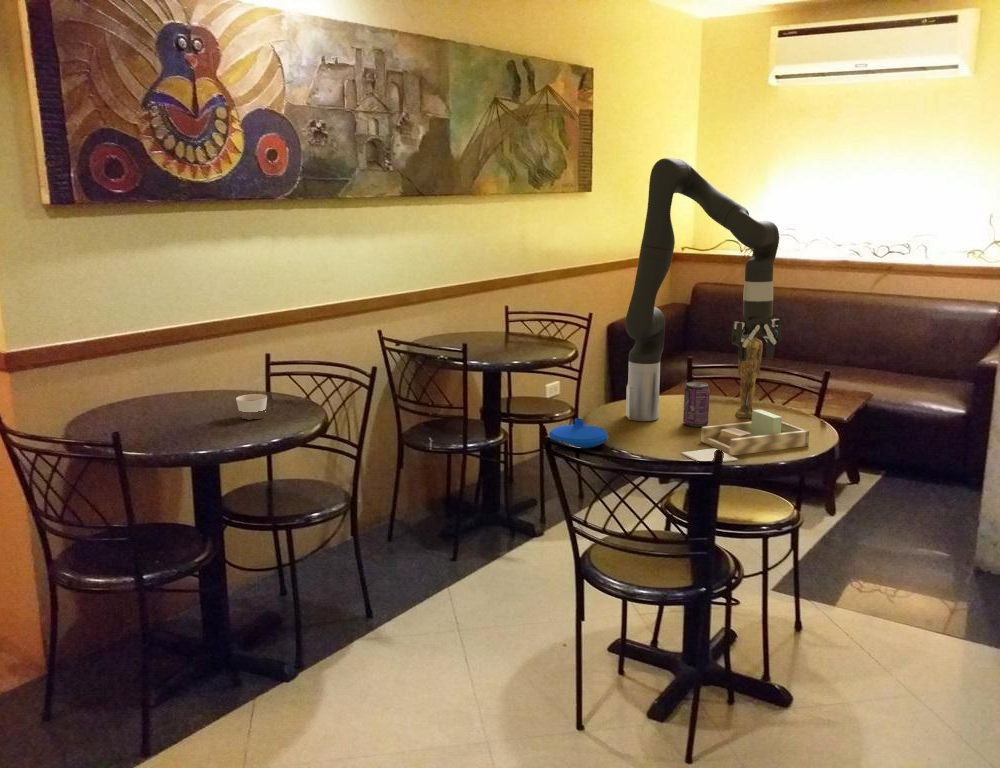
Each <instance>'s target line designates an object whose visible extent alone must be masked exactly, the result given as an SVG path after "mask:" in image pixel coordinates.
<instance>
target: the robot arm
mask: <svg viewBox="0 0 1000 768" xmlns="http://www.w3.org/2000/svg"><path fill="white" fill-rule="evenodd" d="M674 194H680V195H682V196H685V197H688V198H689V199H691V200H693V201H694V202H696V203H697V204H698V205H699V206H700V208H702V209H703V211H704V212H705V213H706V214H707V216H708V217H710V218H711V219H712V220H713V221H715V222H716V223H717V224H719V225H720V226H722V227H723V228H725V230H727V231H729V232H730V233H731V234H732V236H733V237H734V238H736V239H737V241H738V242H739V243H740V244H742V245H744V247H747V248H749V249H752V255H751V257H750V258H749V259H748V260H746V262H745V268H744V285H743V286H744V287H743V293H742V294H743V299H742V302H743V303H742V316H743V320H742V321H741V322H740V321H733V322H732V329H731V341H730V342H731V345H734V346H737V358H739V360H740V361H746V355H747V347H746V346H747V344H748V342H749V341H751V340H752V338H753V337H754V338H759V337H761V338H764V340H765V342H766V344H765V358H766V359H774V357H775V351H776V348H775V347H776V346H775V345H776V344H777V343H780V342H782V341H783V326H782V325H783V324H782V323H783V321H782V320H781V319H779V318H773V319H772V316H773V312H774V282H773V281H774V263H775V261H776V256H777V252H778V248H779V244H780V232H779V229H778V227H777V225H776V224H775V223H774V222H772V221H769V220H756V219H754V218H752V216H750V212H749V210H748V209H747V208H746V207H744V206H743V205H742V204H740V203H738V202H737V201H735V199H732V198H731V197H729V196H728V195H727V194H725V193H723V192H721V191H720V190H719V189H717V188H716V187H715V186H713V185H712V184H711V183H710V182H709V181H707V180H706V179H705V178H704V177H703V176H702V175H700V173H699V172H698V171H697V170H696V169H695V168H694V167H693V166H692V165H690V164H689V163H688V162H687V161H685V160H683V159H679V158H665V157H664V158H661V159H659V160H657V161H656V162H655V163H654V165H653V166H652V168H651V171H650V176H649V185H648V198H647V199H648V201H647V210H646V216H645V222H644V228H643V235H642V240H641V244H640V250H639V254H638V255H639V256H638V262H637V263H638V264H637V269H636V275H635V280H634V284H633V285H634V286H633V291H632V295H631V298H630V302H629V305H628V307H627V308H628V310H627V313H626V316H625V323H624V324H625V326H624V327H625V330H626V333H627V335H628V336H629V337H630V338H631V339H633V340H635V341H634V344H633V346H632V348H631V350H629V352H628V378H627V379H628V380H627V384H626V393H625V394H626V399H625V400H626V401H625V417H626V418H627V419H628V421H636V422H652V421H656V420H658V419H659V411H660V410H659V407H660V406H659V405H660V384H661V383H660V380H661V358H662V354H663V351H664V347H665V345H664V344H665V335H666V333H665V332H666V319H665V316H664V313H663V312H662V310H661V309H659V308H658V307H656V305H655V304H656V299H657V295H658V292H659V290H660V288H661V286H662V284H663V282H664V281H665V278H666V276H667V275H668V273H669V270H670V269H671V265H672V261H673V257H674V252H675V251H674V249H675V243H676V241H675V238H676V237H675V232H674V228H673V224H672V218H671V213H672V212H671V210H672V204H673V198H674ZM744 329H745V330H744ZM747 334H748V336H747Z"/></svg>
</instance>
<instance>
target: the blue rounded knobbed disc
mask: <svg viewBox="0 0 1000 768" xmlns="http://www.w3.org/2000/svg"><path fill="white" fill-rule="evenodd" d="M548 435H549V438H551V439H553V440H556V441H561V442H565V443H570V444H573V445H575V446H579V447H582V448H583V449H591V448H596V447H598V446H600V445H602V444H604V443H606V442H607V441H608V438H609V433H608V432H607V431H606V430H605V429H604V428H602V427H599V426H596V425H590V424H584V419H583V418H575V419H574V424H566V425H560V426H556V427H554V428H552V429H551V430H550V432H549V434H548ZM551 439H550V440H551Z"/></svg>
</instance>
